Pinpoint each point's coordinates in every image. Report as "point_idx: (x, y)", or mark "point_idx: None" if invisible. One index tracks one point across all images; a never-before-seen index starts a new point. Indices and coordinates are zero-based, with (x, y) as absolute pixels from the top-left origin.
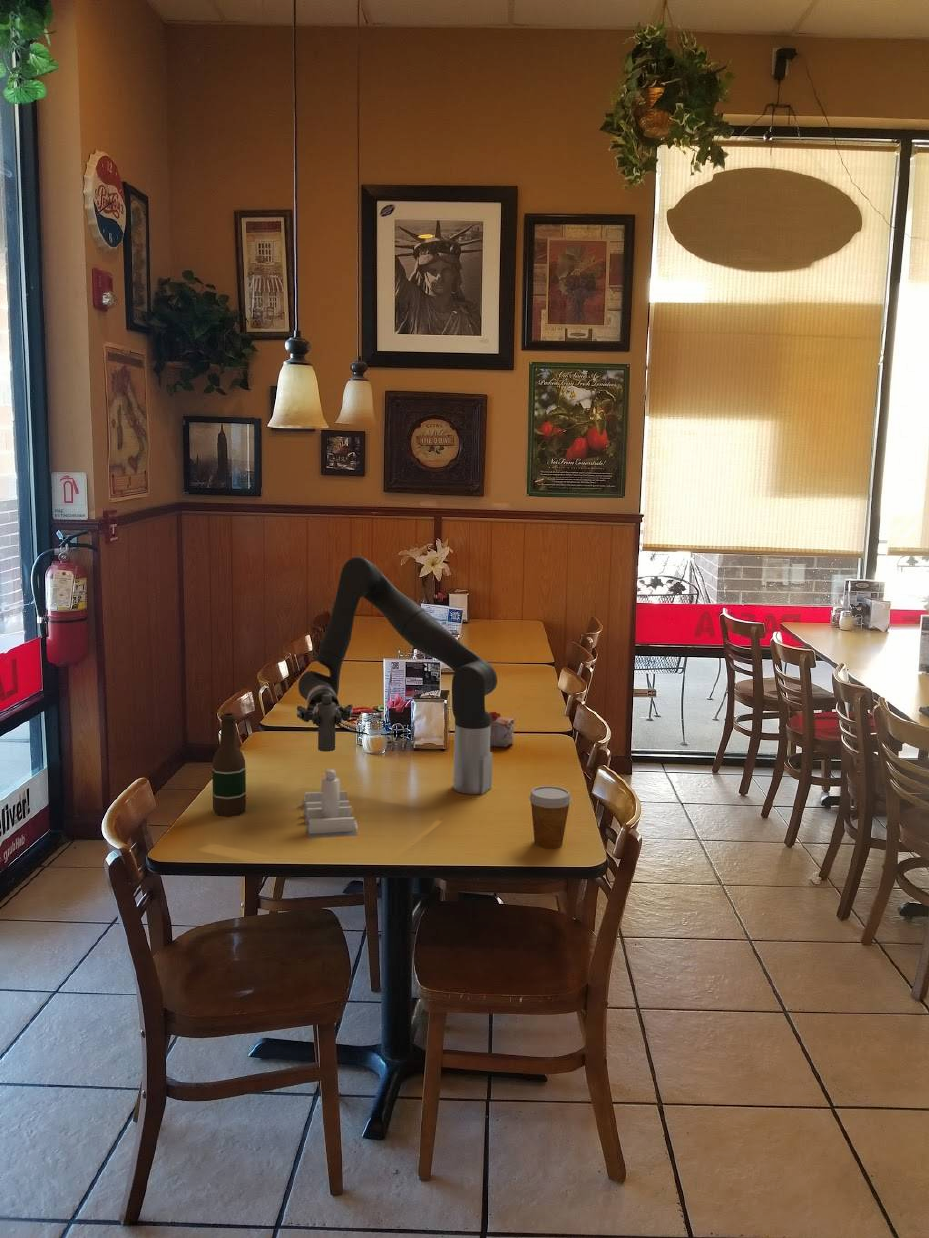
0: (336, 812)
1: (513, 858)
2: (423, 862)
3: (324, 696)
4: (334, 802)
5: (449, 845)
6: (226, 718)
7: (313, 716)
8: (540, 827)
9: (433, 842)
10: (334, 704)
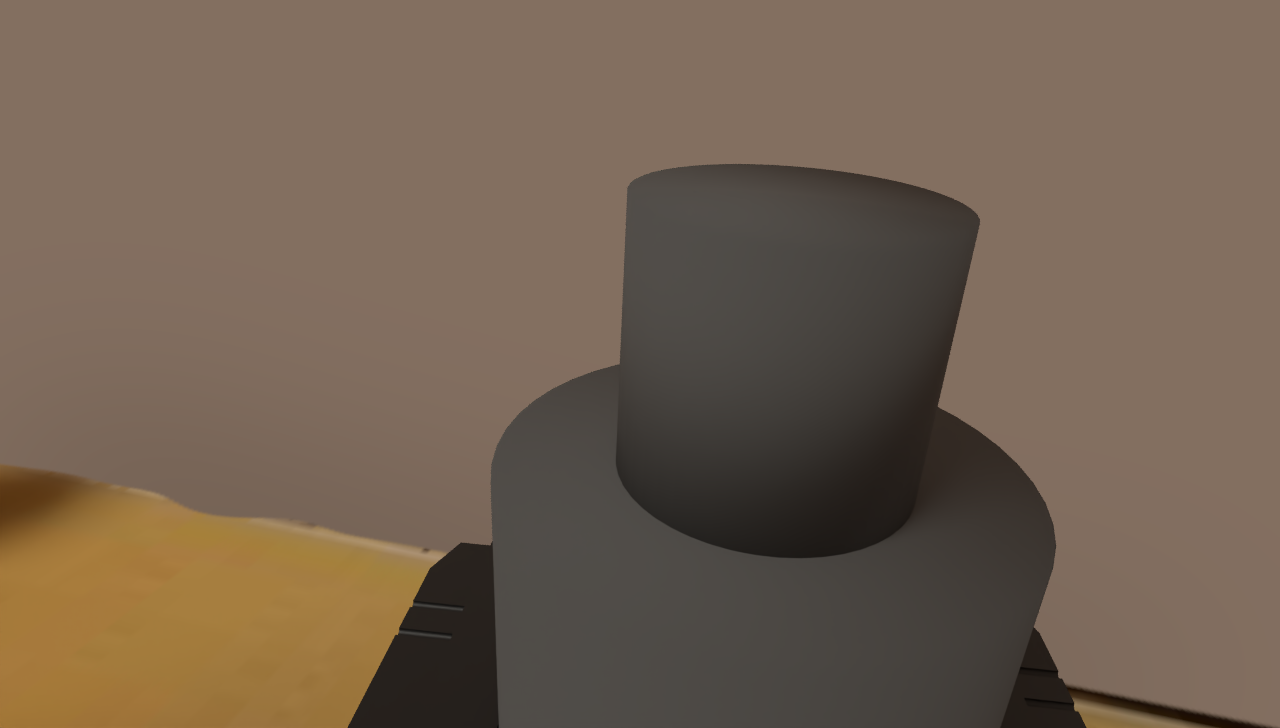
0: None
1: (59, 515)
2: (369, 555)
3: (870, 181)
4: None
5: (158, 647)
6: None
7: (1060, 718)
8: None
9: (194, 690)
10: (554, 395)
